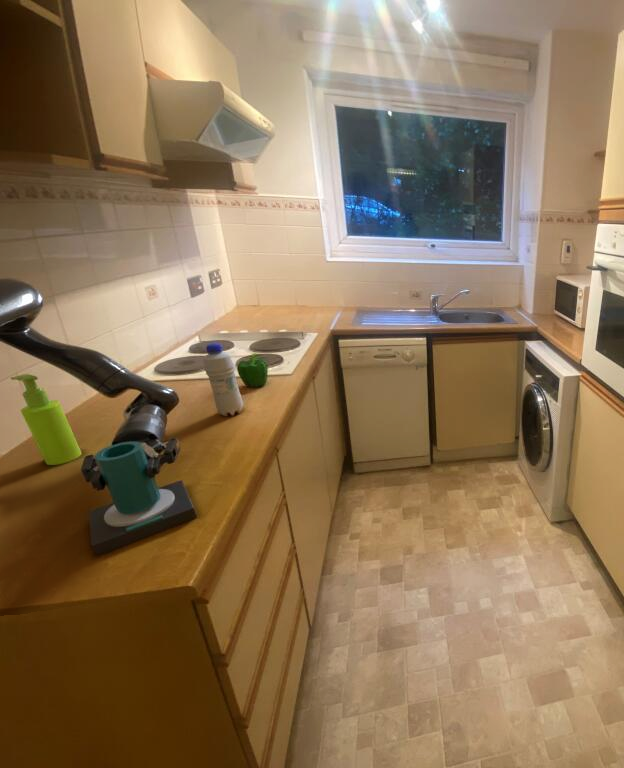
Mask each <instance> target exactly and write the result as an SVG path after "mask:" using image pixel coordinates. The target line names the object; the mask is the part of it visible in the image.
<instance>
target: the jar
mask: <svg viewBox="0 0 624 768" xmlns="http://www.w3.org/2000/svg"><path fill="white" fill-rule="evenodd" d="M94 457H95V460H96V463H97V465H98V467H99V470H100V472H101V474H102V477H103V479H104V481H105V484H106V486H105V487H106V488H107V491H108V493H109V495H110V497H111V500H112V503H114V505H115V507H116V509H117V511H118V512H119V513H122V514H130V513H136V512H139V511H142V510H145V509H147V508H149V507H151V506H153V505H154V504H155V503H157V502H158V501H159V499H160V497H161V495H160V492H159V489H158V488H159V487H158V484H157V481H156V479H155V477H154V478H149V476H148V473H147V470H146V467H147V464H148V460H147V457H146V455H145V452H144V449H143V447H142V444H141V443H139V442H123V443H119V444H115V445H112V446H111V445H109V446H107V447H104V448H103V449H101V450H99V451H98V452H97V453H96V454H95V455H94Z"/></svg>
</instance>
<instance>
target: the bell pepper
mask: <svg viewBox="0 0 624 768" xmlns="http://www.w3.org/2000/svg"><path fill="white" fill-rule="evenodd" d="M258 356H259V353H258V352H257V353H256V352H255V353H252V354H251V355H250V357H249V360H248V361H246V360H241V361H240V360H239V363H238V364H237V370H236V371H237V374H238V376H239V378H240V379H241V381H242V382H243V384H244V385H245V386H246V387H247V388H252V387H253V388H259V387H263V386H264V385H266V383H267V381H268V371H269V370H268V365H267V364H268V363H267V361H266V360H265V359H264V358H256V357H258Z"/></svg>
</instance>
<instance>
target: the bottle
mask: <svg viewBox="0 0 624 768" xmlns="http://www.w3.org/2000/svg"><path fill="white" fill-rule="evenodd" d="M206 352H207V354H206V355H204V356H203V369H204V371H205V375H206V376H207V377H208V380H209V383H210V387H211V390H212V394H213V399H214V404H215V407H216V410H217V412H218V414H219V415H222V416H224V417H228V415H230V416H235V413H237V414H240V413H241V412H242V411H243V409H244V401H243V398H242V395H241V392H240V389H239V384H238V381H237V378H236V373H235V371H236V368H235V363H234V362H233V359H232V356H231V354H230V353H229V352H226V351H224V350H223V346H222V345H221V343H218V342H215V343H209V344H207V345H206Z"/></svg>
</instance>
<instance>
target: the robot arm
mask: <svg viewBox="0 0 624 768" xmlns="http://www.w3.org/2000/svg"><path fill="white" fill-rule="evenodd" d="M44 302H45V301H44V297H43V295H42V293H41V292H40V291H39V290H38V289H37V287H35V286H34V285H32V284H30V283H28V282H27V281H23V280H21V279H17V278H11V277H10V278H9V277H0V342H1V343H2V344H5V345H7V346H10V347H12V348H14V349H16V350H18V351H20V352H22V353H24V354H26V355H29V356H31V357H33V358H36V359H38V360H41V361H43V362H44V363H47V364H49V365H51V366H54V367H55V368H57V369H59V370H61V371H63V372H65V373H67V374H69V375H71V376H72V377H74V378H75V379H77V380H78V381H80V382H82V383H83V384H85V385H86V386H88V387H89V388H91V389H93V390H94V391H96V392H98V393H99V394H101V395H102V396H104V397H105V398H108V399H116V398H119V397H120V396H122V395H124V394H125V393H127V392H129V391H130V390H134V391H138V392H140V393H139V394H138V395H137V396H136V397H135V398H133V400H132V401H131V402H129V404H128V405H127V406H126V407H125V408H124V410H123V412H122V416H123V418H124V419H123V421H122V423H121V424H120V426H119V427H118V429H117V432H116V433H115V435H114V437H113V439H112V440H111V441H112V442H111V444H110V446H112V445H115V444H119V443H123V442H139V443H141V444H142V447H143V449H144V452H145V455H146V457H147V460H148V464H147V467H146V470H147V473H148V476H149V478H154V479H155V478H156V476H157V475H159V474H160V473H161V470H162V467H164V465H165V464H168V465H170V464H171V465H172V464H174V463H175V462H176V460H177V458H178V456H179V454H180V452H181V446H180V443H179V440H178V437H172V438H170V439H169V440H168V441H166V442H164V441H165V437H166V428H167V426H168V425H167V424H168V415H169V414H170V413H171V412H172V411H173V410H174V409H175V408H176V407H177V406H178V405H179V403H180V396H179V395H178V393H177V392H176V390H174V389H173V388H171V387H170V386H167V385H166V384H162V383H160V382H157V381H153V380H151V379H148V378H145V377H144V376H141V375H139V374H136V373H135V372H133V371H131V370H129V369H128V368H126V367H125V366H124V365H122V364H120V363H119V362H117V361H115V360H114V359H113V358H111V357H110V356H108V355H107V354H104V353H102V352H99V351H97V350H94V349H91V348H87V347H83V346H78V345H72V344H69V343H68V344H67V343H63V342H60V341H56V340H54V339H51V338H50V337H47V336H46V335H43V334H42V333H40V332H39V331H37V330H36V329H35V328H34V327H33V326H32V324H33V323H34V321H35V320H36V318H38V316H39V315H40V314H41V312H42V311H43V308H44V304H45V303H44ZM80 471H81V473H82V476H83V477H84V480H85V482H86V483H91V486H92V488H93V489H96V491H98V492H99V491H103V490H105V488H106V487H107V486H106V484H105V481H104V479H103V477H102V474H101V472H100V470H99V467H98V465H97V463H96V460H95V455H94V454H89V455H86V456H84V458H83V461H82V465H81V469H80Z"/></svg>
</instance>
